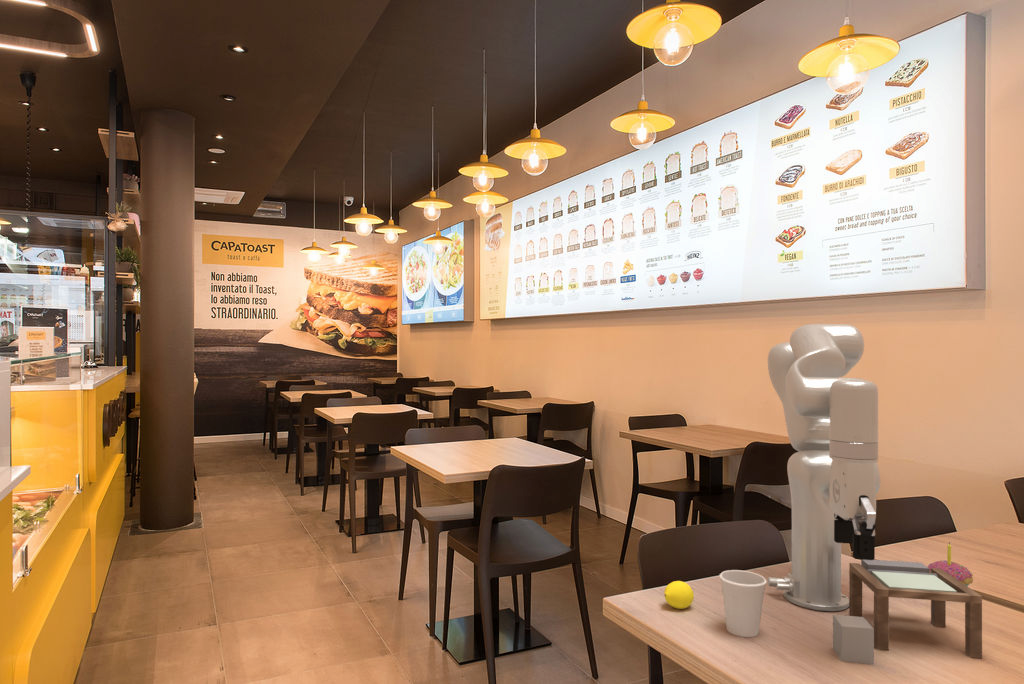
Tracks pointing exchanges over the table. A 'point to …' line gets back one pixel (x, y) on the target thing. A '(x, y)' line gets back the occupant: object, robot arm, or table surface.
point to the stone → (853, 639)
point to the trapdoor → (905, 575)
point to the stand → (937, 598)
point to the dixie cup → (742, 601)
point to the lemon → (678, 594)
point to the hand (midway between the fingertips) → (853, 550)
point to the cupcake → (953, 569)
